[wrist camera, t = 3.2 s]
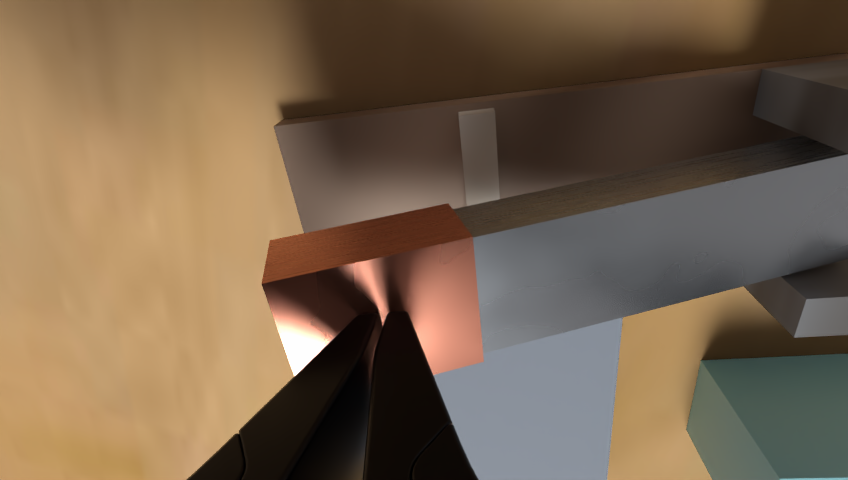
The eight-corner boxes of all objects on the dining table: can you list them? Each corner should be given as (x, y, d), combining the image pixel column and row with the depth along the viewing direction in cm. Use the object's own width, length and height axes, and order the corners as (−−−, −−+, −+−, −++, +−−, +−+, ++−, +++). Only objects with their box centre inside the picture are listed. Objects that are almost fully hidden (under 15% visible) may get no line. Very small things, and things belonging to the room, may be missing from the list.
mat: (615, 282, 16) (624, 298, 15) (600, 462, 21) (606, 483, 20) (344, 300, 17) (339, 316, 16) (387, 467, 22) (384, 486, 21)
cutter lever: (841, 120, 12) (923, 136, 10) (808, 230, 13) (875, 259, 12) (270, 240, 10) (261, 283, 8) (306, 353, 11) (306, 407, 10)
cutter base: (864, 50, 12) (1053, 76, 8) (805, 244, 15) (926, 330, 11) (282, 119, 14) (216, 166, 10) (326, 279, 17) (287, 363, 13)
